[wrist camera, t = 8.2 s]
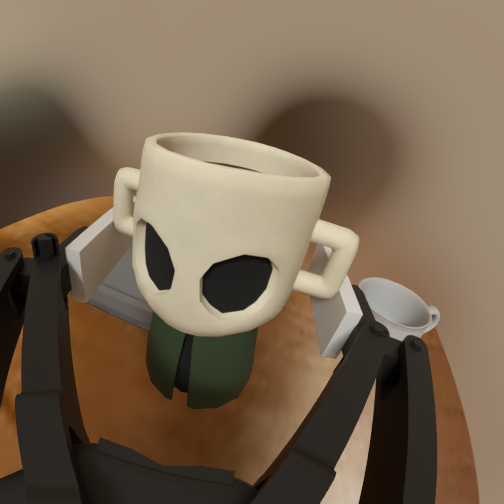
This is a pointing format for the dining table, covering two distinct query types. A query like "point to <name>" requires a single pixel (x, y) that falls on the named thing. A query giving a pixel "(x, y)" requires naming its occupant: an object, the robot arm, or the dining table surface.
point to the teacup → (398, 308)
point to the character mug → (221, 253)
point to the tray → (123, 295)
